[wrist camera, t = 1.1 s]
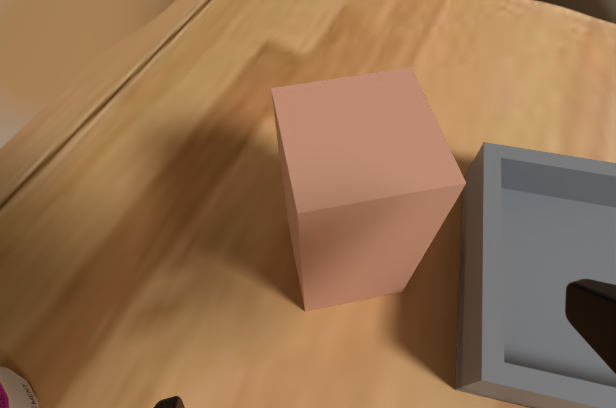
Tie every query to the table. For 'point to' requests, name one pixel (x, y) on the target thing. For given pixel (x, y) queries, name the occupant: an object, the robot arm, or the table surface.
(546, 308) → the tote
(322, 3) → the table surface
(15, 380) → the supplement can
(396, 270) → the carton
